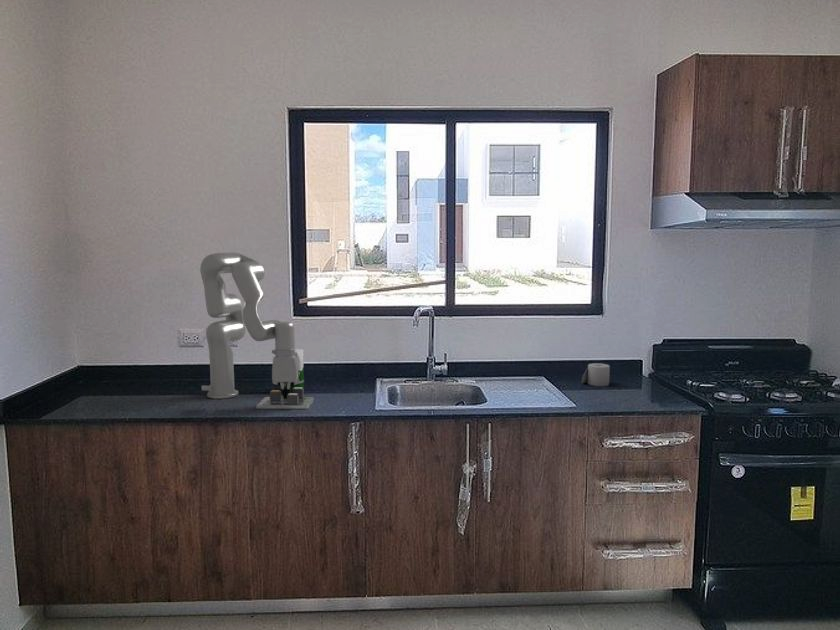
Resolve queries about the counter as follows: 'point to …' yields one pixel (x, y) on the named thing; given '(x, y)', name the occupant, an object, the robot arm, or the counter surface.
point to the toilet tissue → (597, 374)
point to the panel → (285, 403)
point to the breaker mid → (275, 395)
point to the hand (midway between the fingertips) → (286, 398)
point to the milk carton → (301, 370)
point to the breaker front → (292, 399)
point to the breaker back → (299, 391)
